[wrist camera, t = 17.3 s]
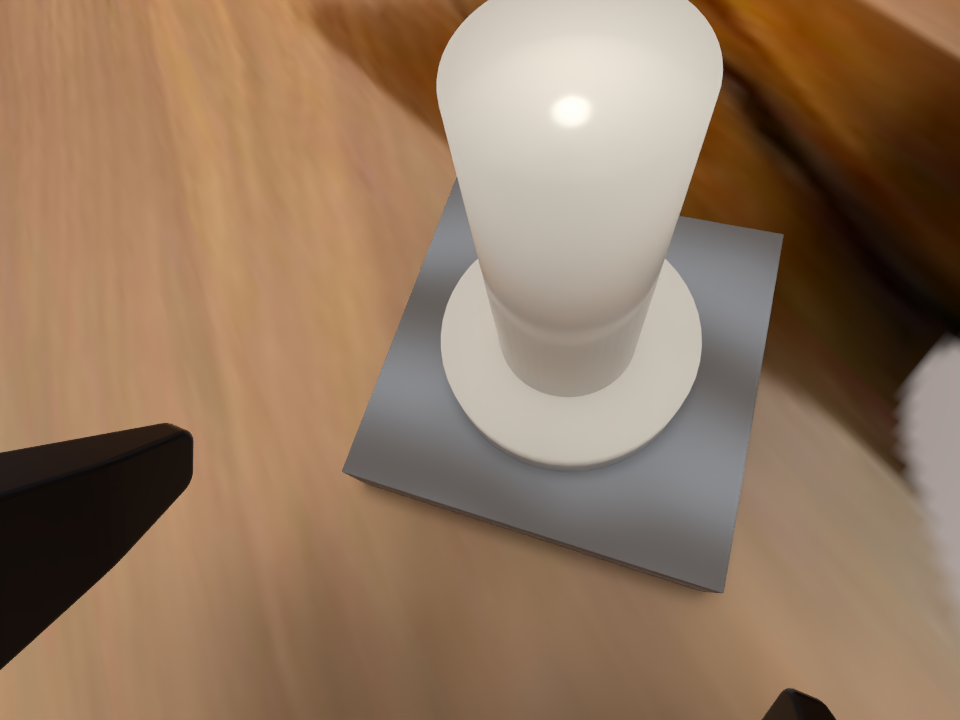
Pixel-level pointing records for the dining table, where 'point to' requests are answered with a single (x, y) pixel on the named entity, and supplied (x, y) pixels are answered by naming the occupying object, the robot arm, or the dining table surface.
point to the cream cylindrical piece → (574, 221)
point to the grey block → (599, 492)
